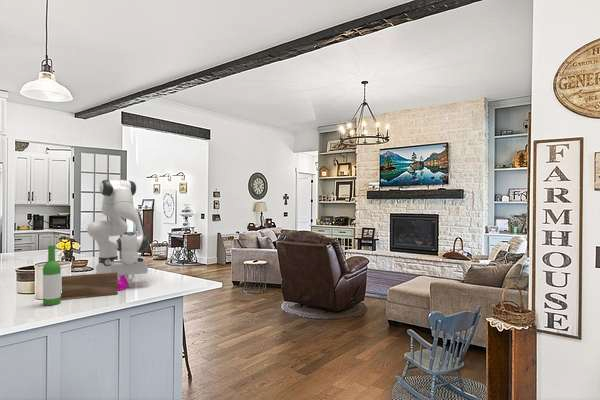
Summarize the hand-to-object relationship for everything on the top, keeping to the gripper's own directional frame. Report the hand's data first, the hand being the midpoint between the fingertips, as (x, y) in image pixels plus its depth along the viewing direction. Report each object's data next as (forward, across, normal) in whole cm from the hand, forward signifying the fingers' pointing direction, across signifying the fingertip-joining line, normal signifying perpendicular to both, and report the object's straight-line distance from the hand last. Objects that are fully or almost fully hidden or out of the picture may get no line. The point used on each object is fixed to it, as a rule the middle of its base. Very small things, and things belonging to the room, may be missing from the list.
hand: (129, 282), depth 228 cm
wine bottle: (+4, -36, -21) cm, 42 cm away
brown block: (+4, -20, -8) cm, 22 cm away
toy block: (+4, -5, +2) cm, 6 cm away
